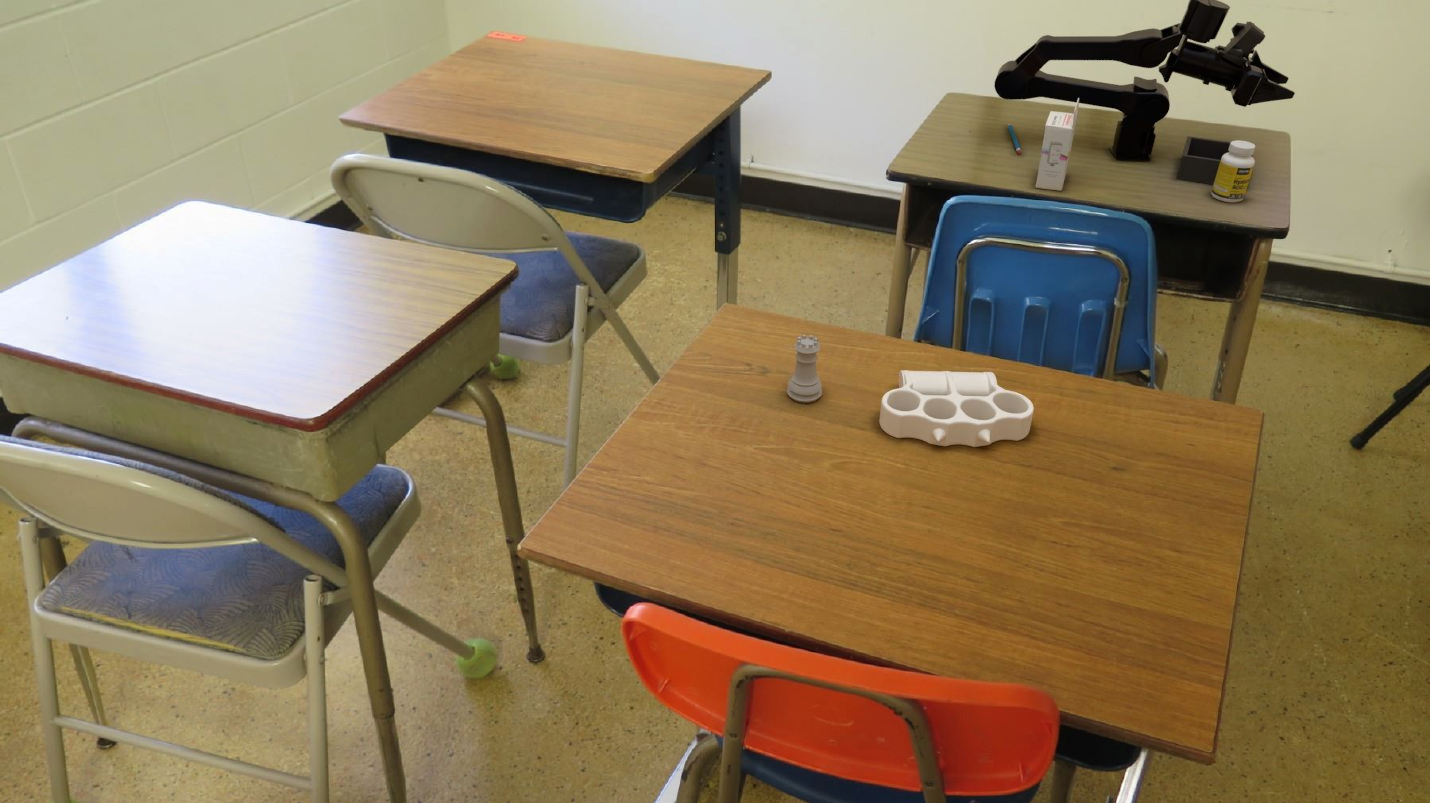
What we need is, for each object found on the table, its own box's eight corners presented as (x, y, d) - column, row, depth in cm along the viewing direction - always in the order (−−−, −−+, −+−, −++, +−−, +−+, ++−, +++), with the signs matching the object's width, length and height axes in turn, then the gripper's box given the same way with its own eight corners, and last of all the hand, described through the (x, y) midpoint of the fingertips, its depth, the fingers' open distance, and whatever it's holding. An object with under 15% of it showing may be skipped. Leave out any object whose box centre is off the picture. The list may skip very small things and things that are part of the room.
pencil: (1016, 154, 204) (1017, 150, 204) (1006, 125, 218) (1007, 121, 218) (1021, 154, 204) (1021, 150, 204) (1010, 125, 218) (1011, 122, 218)
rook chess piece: (784, 385, 135) (786, 331, 130) (818, 384, 135) (822, 330, 131) (789, 405, 131) (792, 349, 127) (824, 403, 131) (828, 348, 127)
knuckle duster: (1013, 387, 135) (1039, 455, 122) (872, 384, 135) (884, 452, 123) (1018, 365, 133) (1044, 432, 120) (874, 362, 133) (886, 428, 121)
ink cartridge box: (1038, 171, 197) (1052, 93, 189) (1066, 175, 195) (1081, 96, 187) (1033, 188, 190) (1048, 107, 182) (1062, 192, 189) (1077, 111, 181)
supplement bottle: (1228, 205, 184) (1244, 151, 179) (1204, 194, 188) (1218, 141, 183) (1250, 200, 186) (1266, 146, 181) (1225, 189, 190) (1240, 136, 185)
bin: (1176, 179, 194) (1182, 155, 192) (1181, 158, 203) (1187, 136, 200) (1244, 189, 190) (1251, 165, 188) (1246, 168, 199) (1253, 145, 196)
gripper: (1228, 32, 180) (1321, 58, 177) (1221, 7, 194) (1306, 30, 192) (1198, 94, 186) (1288, 120, 184) (1193, 65, 201) (1276, 89, 199)
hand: (1290, 88), depth 189 cm, fingers open, 9 cm apart
